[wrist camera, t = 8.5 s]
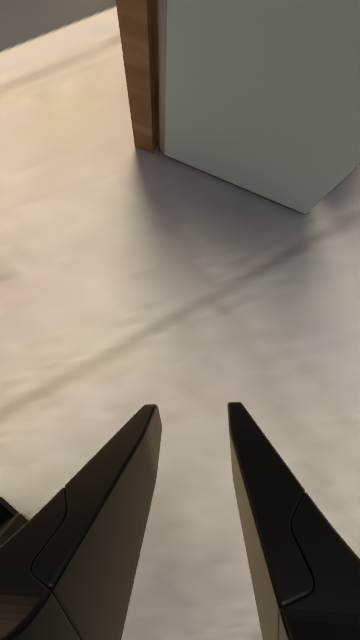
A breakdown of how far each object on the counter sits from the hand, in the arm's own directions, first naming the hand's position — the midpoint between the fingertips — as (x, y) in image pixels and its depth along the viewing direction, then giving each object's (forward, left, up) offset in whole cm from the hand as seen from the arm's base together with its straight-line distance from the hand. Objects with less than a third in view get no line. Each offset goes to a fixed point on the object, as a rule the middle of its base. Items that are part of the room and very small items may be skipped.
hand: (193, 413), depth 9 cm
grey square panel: (+15, +7, -11) cm, 20 cm away
